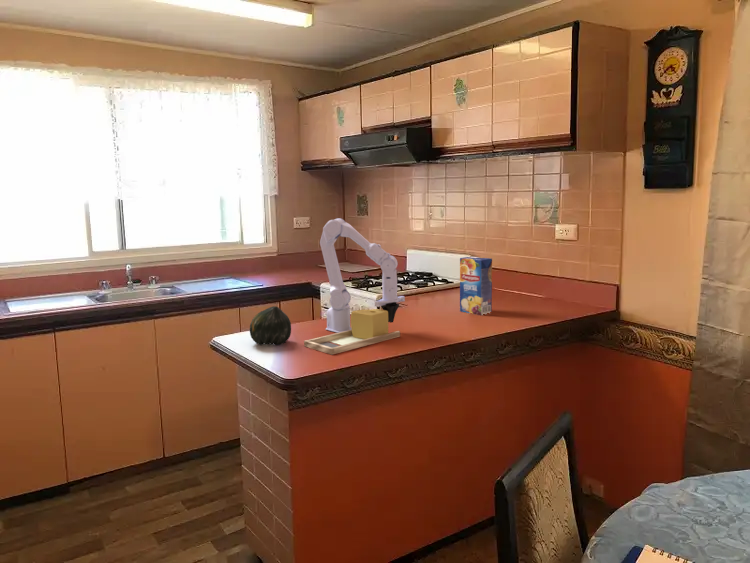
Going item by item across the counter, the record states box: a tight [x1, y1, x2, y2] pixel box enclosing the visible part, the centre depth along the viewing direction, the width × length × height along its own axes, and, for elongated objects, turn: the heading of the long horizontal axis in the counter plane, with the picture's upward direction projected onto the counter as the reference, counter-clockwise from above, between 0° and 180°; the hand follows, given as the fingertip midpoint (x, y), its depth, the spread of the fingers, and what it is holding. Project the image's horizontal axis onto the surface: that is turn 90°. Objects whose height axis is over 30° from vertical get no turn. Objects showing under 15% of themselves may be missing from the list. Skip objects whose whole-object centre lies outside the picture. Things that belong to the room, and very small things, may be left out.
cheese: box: [350, 308, 389, 339], centre depth 229 cm, size 10×11×10 cm
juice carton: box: [459, 256, 493, 316], centre depth 267 cm, size 12×8×24 cm, turn 42°
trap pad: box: [319, 341, 340, 348], centre depth 217 cm, size 13×8×1 cm, turn 43°
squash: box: [249, 305, 292, 346], centre depth 222 cm, size 14×15×15 cm
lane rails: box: [303, 330, 401, 355], centre depth 224 cm, size 16×33×2 cm, turn 133°
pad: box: [328, 335, 364, 346], centre depth 224 cm, size 13×12×1 cm
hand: (390, 322), depth 237 cm, fingers closed
